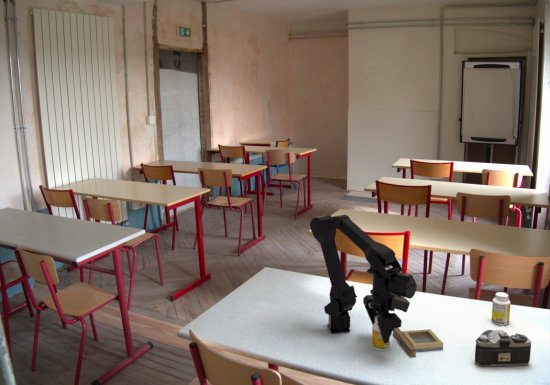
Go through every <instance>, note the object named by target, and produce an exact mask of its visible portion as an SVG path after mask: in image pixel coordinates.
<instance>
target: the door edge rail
mask: <svg viewBox="0 0 550 385" xmlns="http://www.w3.org/2000/svg"><path fill="white" fill-rule="evenodd" d="M392 335H393V336H394V338H395V339H396V340H397V342H398V343H399V344H400V346H401V347H402V348H403V349H404V351H405V352H406V353H407V355H408V356H409V357H410V358H416V357H417V356H416V355H417V354H416V353H417V352H416V349H415V347H414V346H413V345H412V344H411V343H410V341H409V340H408V339H407V338H406V336H405V335H404V334H403V333H402V330H401V329H400V327H398V328H395V329H394V330H393V331H392Z"/></svg>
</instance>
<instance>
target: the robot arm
mask: <svg viewBox="0 0 550 385" xmlns="http://www.w3.org/2000/svg"><path fill="white" fill-rule="evenodd" d="M309 228H310V230H311V233H312V236H313V238H314V239H315V240H316V241H317V242H318V243H319V244H320V248H321V252H322V255H323V258H324V259H323V260H324V262H325V267H326V271H327V274H328V278H329V282H330V290H329V302H328V303H327V304H326V305H325V306H324V307H323V310H324V313H325V314H326V315H328V322H327V324H326V325H327V327H328V330H329V332H330V333H331V334H340V333H341V334H342V333H351V330H350V329H351V315H350V314H349V312H350V311H352V310H353V307H354V306H355V305H356V303H357V298H358V296H357V294H356V290H355V287H354V285H349V284H348V282H347V281H346V277H345V274H344V273H345V272H344V271H343V266H342V263H341V258H340V254H339V252H338V248H337V245H336V241H335V239H336V235H337V234H336V233H337V229H338V231H340V232H341V233H342V234H343V235H344V236H346V238H347V239H349V240H350V241H351V242H352V243H353V244H354V245H355V246H356V247H358V248H359V249H360V251H362V253H363V255H364V257H365V260H366V261H367V262H368V264H369V265H370V267H369V269H367V270H366V273H368V274H372V289H370V291H369V292H370V294H366V295H365V296H364V297H362V298H363V299H362V301H363V302H362V304H363V305H364V309H365V310H366V313H367V315H368V317H369V319H370V322H371V325H372V326H373V324H374V323H375V317H376V316H378V319H377V320H378V323H377V324H378V327H379V330H380V333H381V336H382V339H383V342H384V344H386V343H388V341H389V338H390V339H391V336H392V334H393V330H394V329H395V328H401V327H402V319H401V318H400V317H399V316H398V315H397V313H396V312H395V310H398V311H400V312H403V313H408V309H409V306H410V305H411V302H410V301H409V300H408V299H410V300H411V299H412V298H413V297H414V296H415V294H416V293H417V287H418V286H417V282H416V280H415V279H414V275H413V274H408V273H403V268H402V266H401V264H400V263H399V260H398V259H397V257H396V252H395V251H394V250H393V249H392V248H390V247H388V246H387V245H386V244H384V243H380V242H379V241H376V240H374V239H373V238H372V237H370V236H369V235H368V233H366V232H365V231H364V230H363V229H362V228H360V226H359V225H357V224H356V223H355V222H354V221H353V220H352V219H351V218H350V217H349V215H347V214H341V215H335V216H332V215H331V214H324V215H320V216H315V217H313V218H312V219H311V220H310V223H309ZM389 267H391V268H389ZM387 268H388V269H387ZM391 312H392V313H391Z"/></svg>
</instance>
